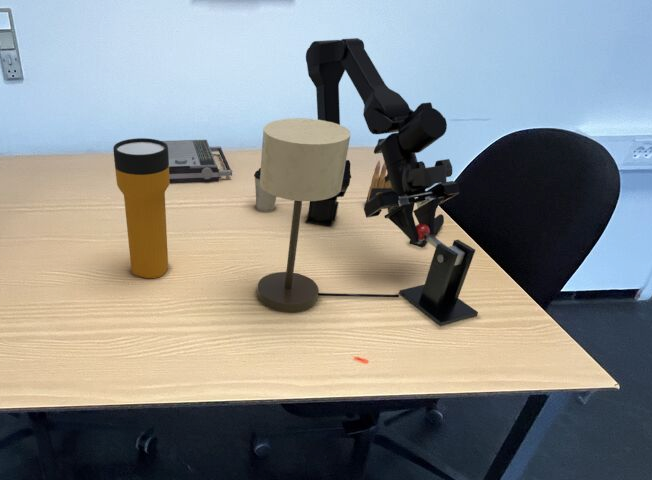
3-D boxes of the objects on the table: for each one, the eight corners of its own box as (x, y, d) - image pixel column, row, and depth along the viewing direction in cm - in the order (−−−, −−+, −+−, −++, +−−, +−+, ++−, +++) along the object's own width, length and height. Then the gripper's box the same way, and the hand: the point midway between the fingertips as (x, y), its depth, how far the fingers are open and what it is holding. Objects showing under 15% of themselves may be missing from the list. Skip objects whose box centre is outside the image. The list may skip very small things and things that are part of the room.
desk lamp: (253, 315, 99) (265, 143, 79) (250, 277, 110) (261, 117, 90) (408, 318, 99) (459, 147, 79) (390, 279, 110) (431, 120, 90)
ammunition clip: (367, 207, 139) (376, 161, 131) (365, 204, 140) (374, 159, 133) (406, 207, 139) (418, 161, 132) (404, 204, 141) (415, 159, 133)
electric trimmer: (446, 227, 130) (450, 215, 128) (422, 249, 121) (426, 236, 119) (431, 223, 132) (434, 211, 130) (407, 244, 122) (410, 232, 120)
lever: (406, 236, 103) (411, 222, 101) (419, 234, 104) (424, 219, 102) (448, 268, 95) (454, 253, 93) (462, 265, 96) (468, 250, 94)
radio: (157, 138, 164) (220, 137, 166) (158, 155, 167) (220, 153, 170) (162, 165, 146) (233, 163, 148) (163, 184, 149) (232, 181, 151)
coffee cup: (248, 210, 136) (250, 172, 129) (256, 200, 141) (259, 163, 134) (273, 215, 134) (277, 176, 127) (281, 205, 139) (285, 167, 132)
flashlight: (102, 149, 93) (128, 133, 100) (117, 276, 109) (138, 255, 116) (154, 156, 90) (176, 139, 97) (161, 285, 107) (180, 262, 114)
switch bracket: (398, 295, 105) (414, 236, 97) (433, 286, 108) (451, 229, 100) (439, 327, 97) (460, 266, 89) (476, 317, 100) (500, 257, 91)
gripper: (387, 149, 91) (411, 235, 91) (469, 138, 97) (492, 218, 97) (353, 177, 102) (374, 254, 101) (428, 165, 108) (449, 238, 107)
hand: (423, 241), depth 101 cm, fingers closed on lever, 3 cm apart
